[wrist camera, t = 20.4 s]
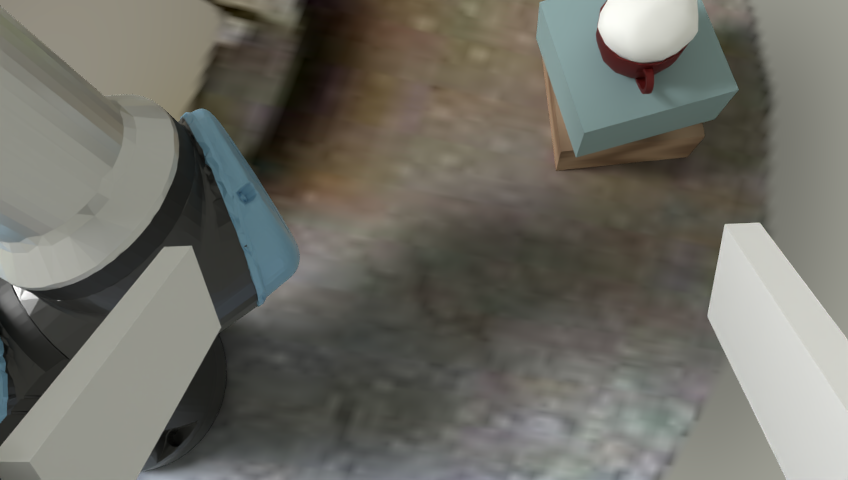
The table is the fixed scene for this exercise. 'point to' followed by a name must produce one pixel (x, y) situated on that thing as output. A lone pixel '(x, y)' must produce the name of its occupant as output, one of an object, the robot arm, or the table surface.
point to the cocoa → (645, 36)
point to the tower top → (626, 81)
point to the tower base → (637, 151)
